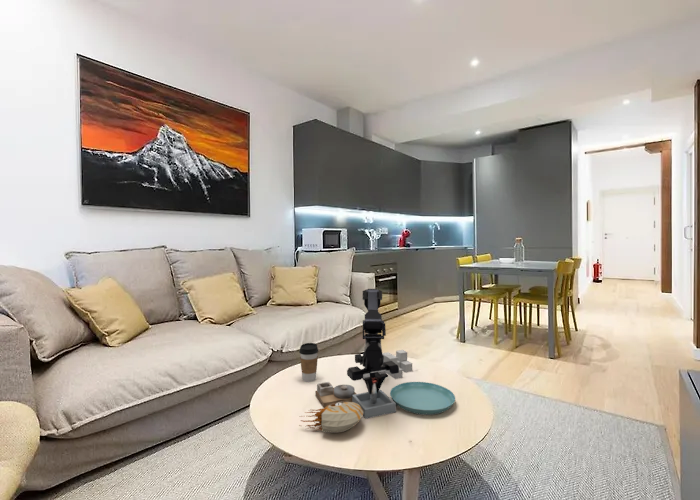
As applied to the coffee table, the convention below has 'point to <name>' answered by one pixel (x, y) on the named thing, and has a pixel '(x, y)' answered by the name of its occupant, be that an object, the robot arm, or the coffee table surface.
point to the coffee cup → (308, 361)
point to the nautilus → (337, 417)
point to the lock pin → (374, 391)
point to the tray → (373, 410)
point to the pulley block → (333, 393)
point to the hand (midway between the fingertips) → (373, 393)
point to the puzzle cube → (398, 363)
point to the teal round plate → (422, 397)
